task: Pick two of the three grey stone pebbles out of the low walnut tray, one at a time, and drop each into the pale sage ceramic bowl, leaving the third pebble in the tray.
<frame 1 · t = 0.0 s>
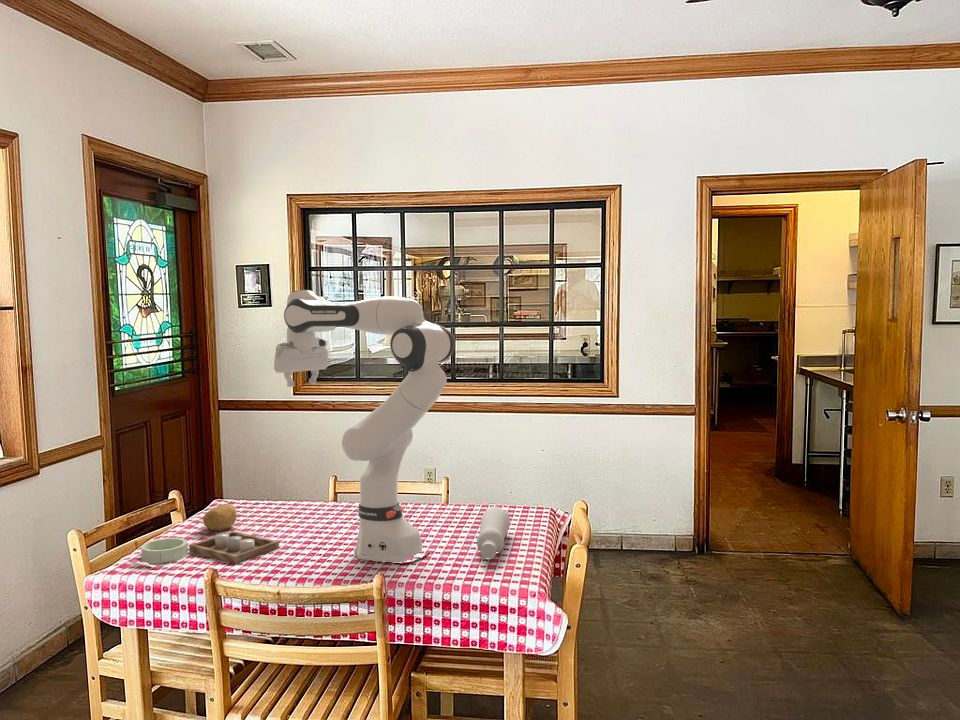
hand: (301, 385, 223), 48 cm above the table, fingers open, 8 cm apart
pebble c: (247, 553, 206), point 1 cm above the table, touching tray
pebble a: (222, 546, 212), point 1 cm above the table, touching tray
pebble b: (234, 549, 209), point 1 cm above the table, touching tray
bowl: (164, 557, 204), on the table
bottle: (491, 548, 214), on the table
tray: (234, 551, 209), on the table
potato: (221, 530, 231), on the table
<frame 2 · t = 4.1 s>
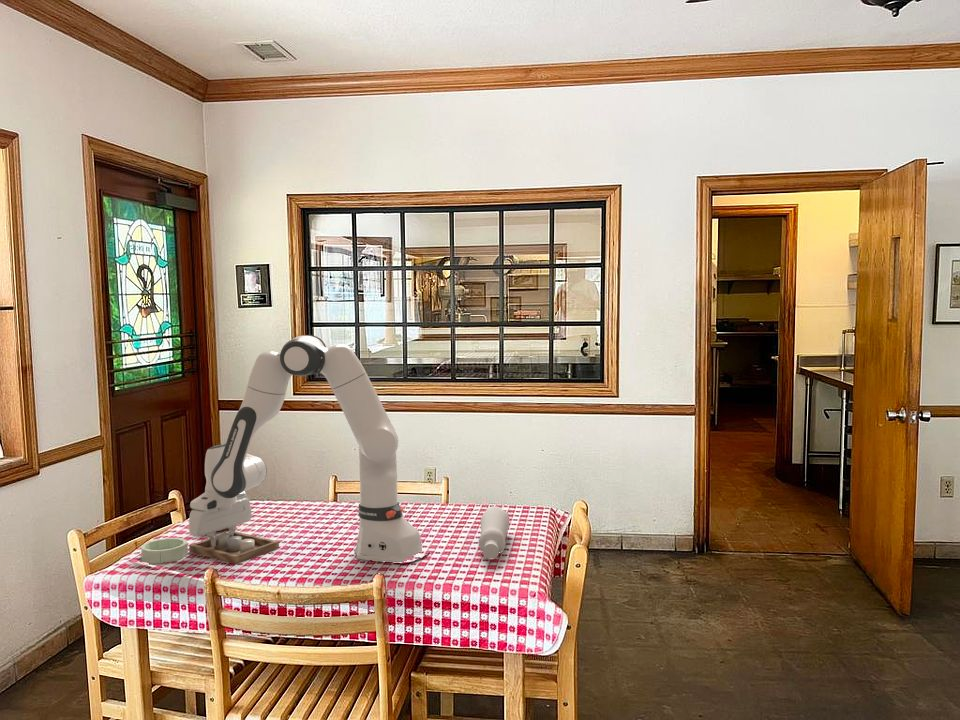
hand: (222, 543, 212), 2 cm above the table, fingers closed on pebble a, 4 cm apart
pebble a: (222, 546, 212), point 1 cm above the table, touching gripper, tray
everything else where it was.
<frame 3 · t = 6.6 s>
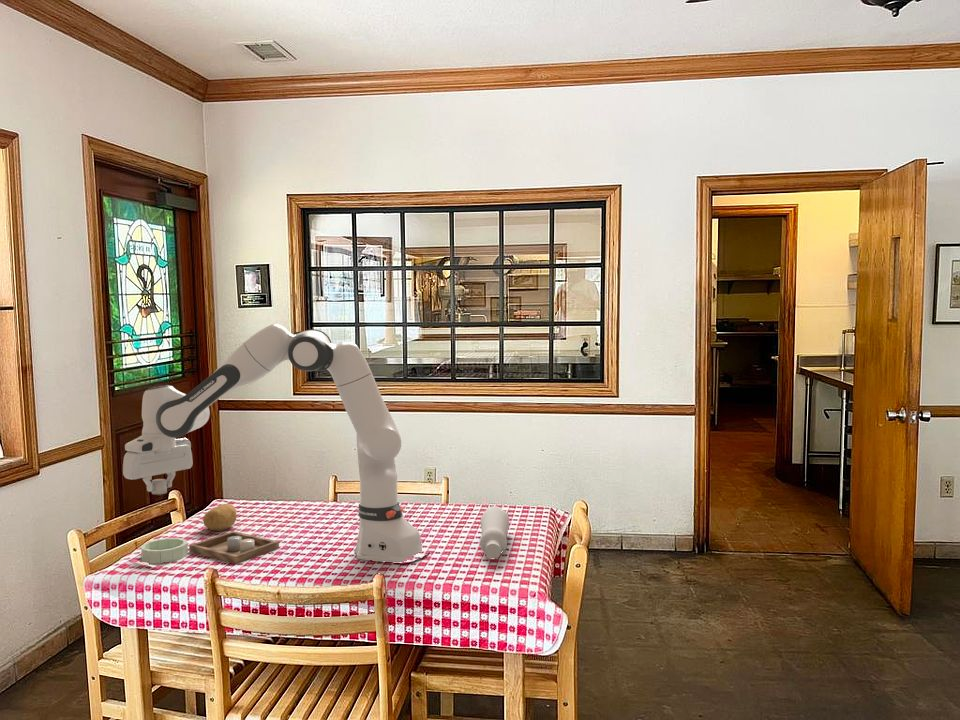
hand: (159, 489, 203), 20 cm above the table, fingers closed on pebble a, 4 cm apart
pebble a: (159, 492, 203), point 19 cm above the table, touching gripper
everything else where it was.
when the fingers open (6 cm above the table, at t = 9.0 s): pebble a drops 4 cm, resting on bowl.
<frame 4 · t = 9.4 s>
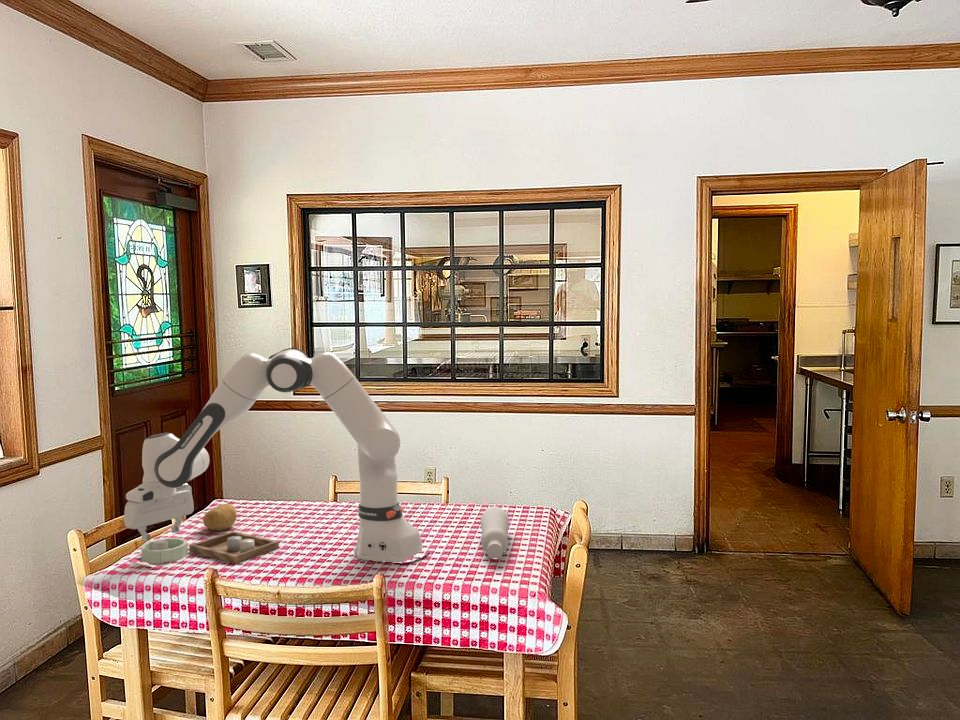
hand: (161, 536, 204), 6 cm above the table, fingers open, 8 cm apart
pebble a: (160, 554, 204), point 1 cm above the table, touching bowl
everything else where it was.
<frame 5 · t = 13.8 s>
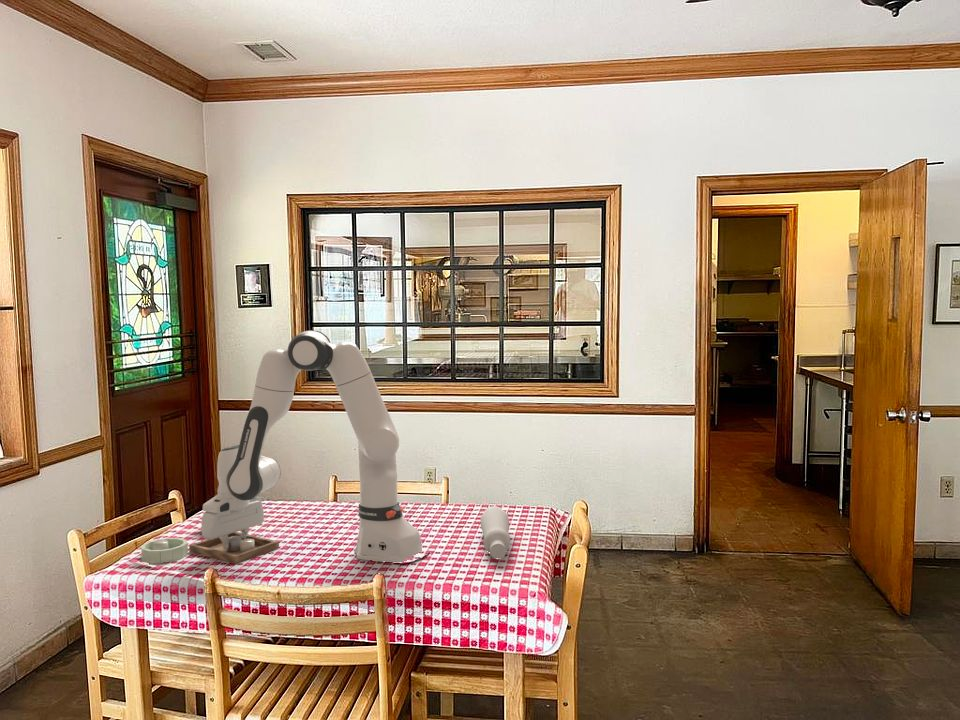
hand: (234, 546, 209), 2 cm above the table, fingers closed on pebble b, 4 cm apart
pebble b: (234, 549, 209), point 1 cm above the table, touching gripper, tray
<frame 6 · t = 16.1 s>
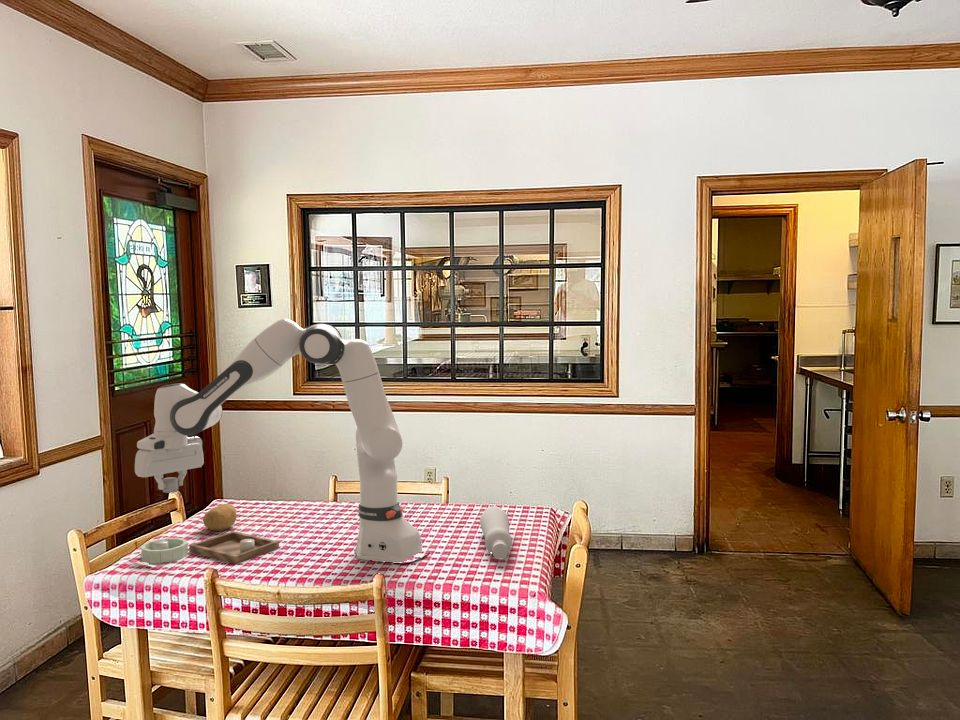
hand: (170, 487, 203), 21 cm above the table, fingers closed on pebble b, 4 cm apart
pebble b: (170, 491, 203), point 19 cm above the table, touching gripper
when the fingers open (6 cm above the table, at t = 18.6 s): pebble b drops 2 cm and tips over, resting on bowl, pebble a.
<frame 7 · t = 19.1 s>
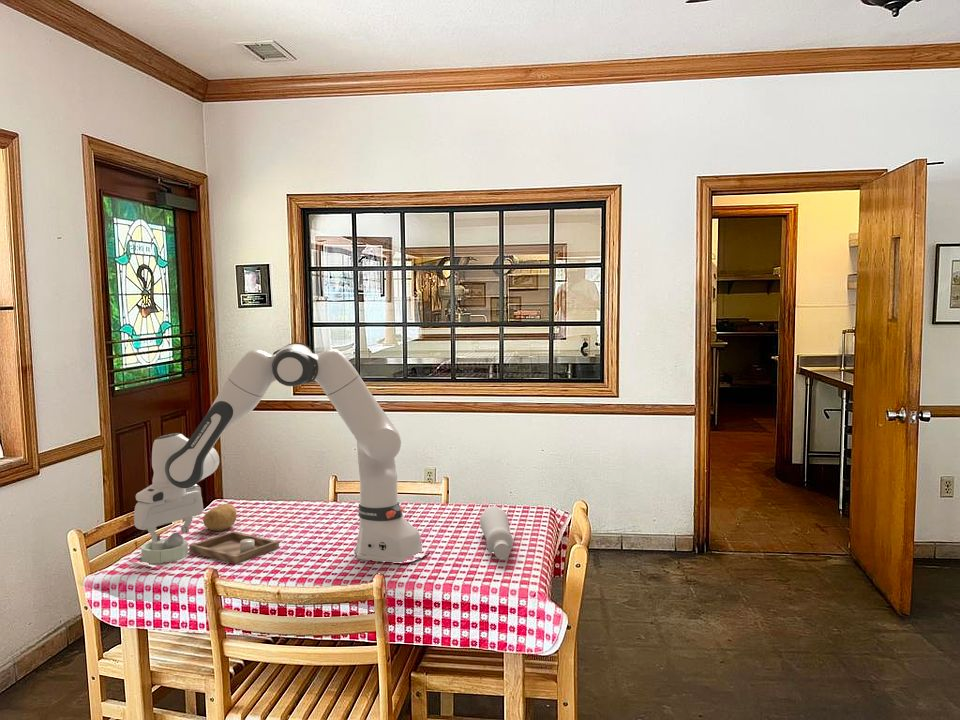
hand: (170, 537, 203), 6 cm above the table, fingers open, 8 cm apart
pebble a: (160, 554, 204), point 1 cm above the table, touching bowl, pebble b
pebble b: (169, 545, 204), point 3 cm above the table, tilted 50°, touching bowl, pebble a
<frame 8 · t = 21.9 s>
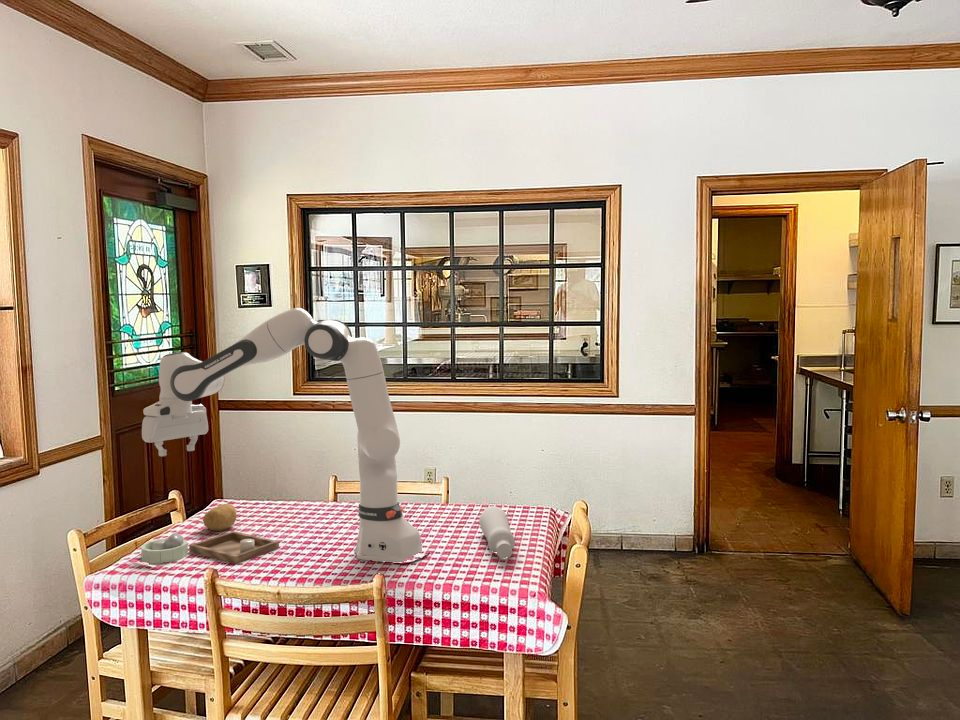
hand: (177, 453, 210), 29 cm above the table, fingers open, 8 cm apart
at the end: pebble a inside the target area on the bowl (1.6 cm from its centre), point 0.8 cm above the bowl's base; pebble b inside the target area on the bowl (1.5 cm from its centre), point 3.5 cm above the bowl's base; the gripper is holding nothing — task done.
